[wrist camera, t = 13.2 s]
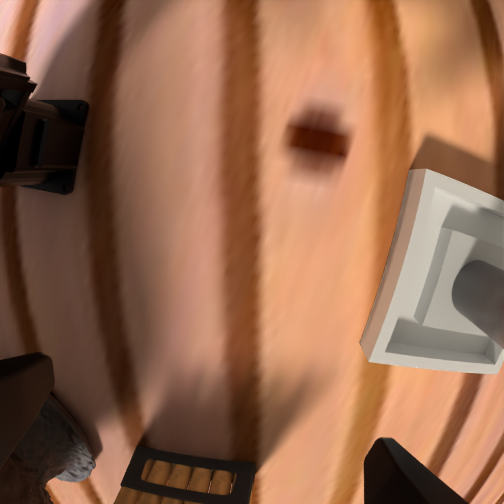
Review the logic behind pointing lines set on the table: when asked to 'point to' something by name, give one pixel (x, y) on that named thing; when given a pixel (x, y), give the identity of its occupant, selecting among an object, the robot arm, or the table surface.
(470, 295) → the grey upright post
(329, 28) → the table surface
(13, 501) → the decorative urn
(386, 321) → the tray
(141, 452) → the ammunition clip
